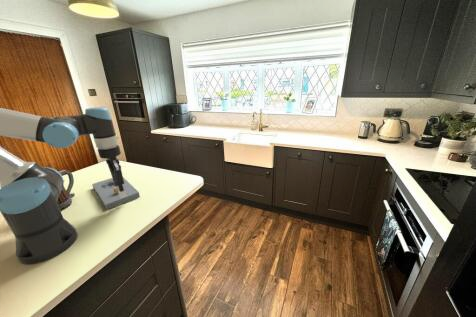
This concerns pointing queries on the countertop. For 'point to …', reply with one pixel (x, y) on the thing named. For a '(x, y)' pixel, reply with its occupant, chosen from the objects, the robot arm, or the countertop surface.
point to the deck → (110, 197)
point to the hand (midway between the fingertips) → (123, 196)
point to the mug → (66, 192)
